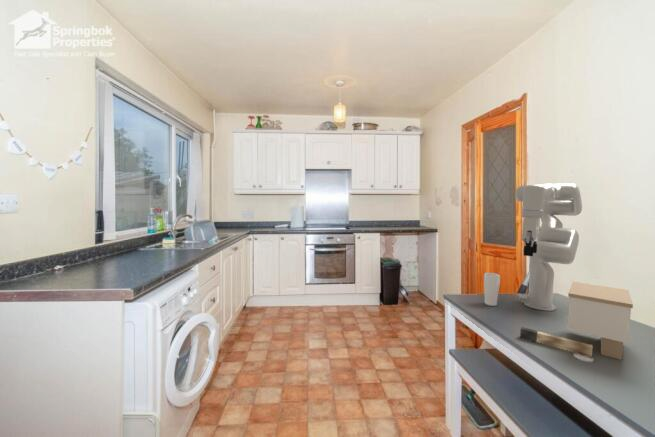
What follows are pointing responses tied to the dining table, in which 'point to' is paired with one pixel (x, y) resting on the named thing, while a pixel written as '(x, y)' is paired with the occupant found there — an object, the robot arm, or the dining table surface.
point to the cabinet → (601, 315)
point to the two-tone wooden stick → (556, 341)
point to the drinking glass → (491, 288)
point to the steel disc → (583, 357)
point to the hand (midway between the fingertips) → (530, 254)
